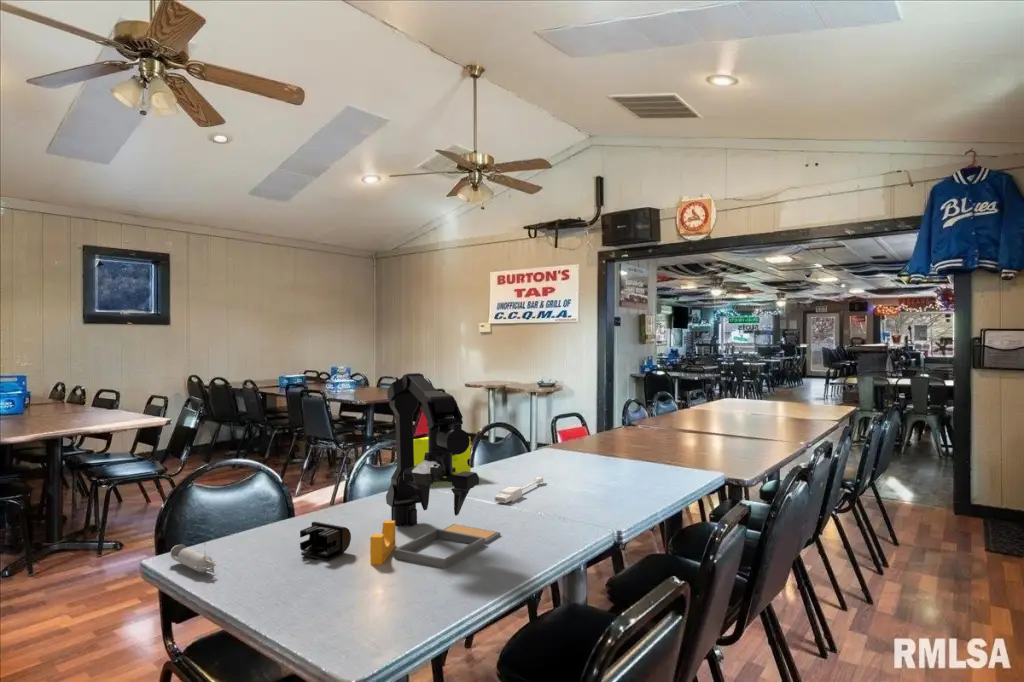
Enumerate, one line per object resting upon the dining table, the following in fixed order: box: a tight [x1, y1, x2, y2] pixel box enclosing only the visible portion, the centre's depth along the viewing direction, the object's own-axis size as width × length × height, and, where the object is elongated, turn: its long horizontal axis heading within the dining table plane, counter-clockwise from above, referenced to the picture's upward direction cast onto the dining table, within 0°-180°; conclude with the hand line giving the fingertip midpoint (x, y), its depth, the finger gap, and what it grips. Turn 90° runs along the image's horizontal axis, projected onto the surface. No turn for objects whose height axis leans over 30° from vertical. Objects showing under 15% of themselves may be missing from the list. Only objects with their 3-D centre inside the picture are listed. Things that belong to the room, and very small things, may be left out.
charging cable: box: [494, 476, 545, 504], centre depth 192 cm, size 5×31×3 cm, turn 152°
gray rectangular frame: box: [393, 528, 486, 570], centre depth 138 cm, size 15×17×2 cm
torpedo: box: [170, 542, 219, 574], centre depth 130 cm, size 18×5×7 cm, turn 55°
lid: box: [442, 523, 501, 545], centre depth 149 cm, size 15×7×1 cm, turn 61°
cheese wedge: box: [413, 436, 472, 478], centre depth 216 cm, size 19×20×15 cm
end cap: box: [299, 521, 352, 562], centre depth 138 cm, size 10×7×7 cm
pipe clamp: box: [369, 520, 396, 566], centre depth 136 cm, size 12×4×6 cm, turn 177°
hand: (440, 512), depth 138 cm, fingers open, 9 cm apart
